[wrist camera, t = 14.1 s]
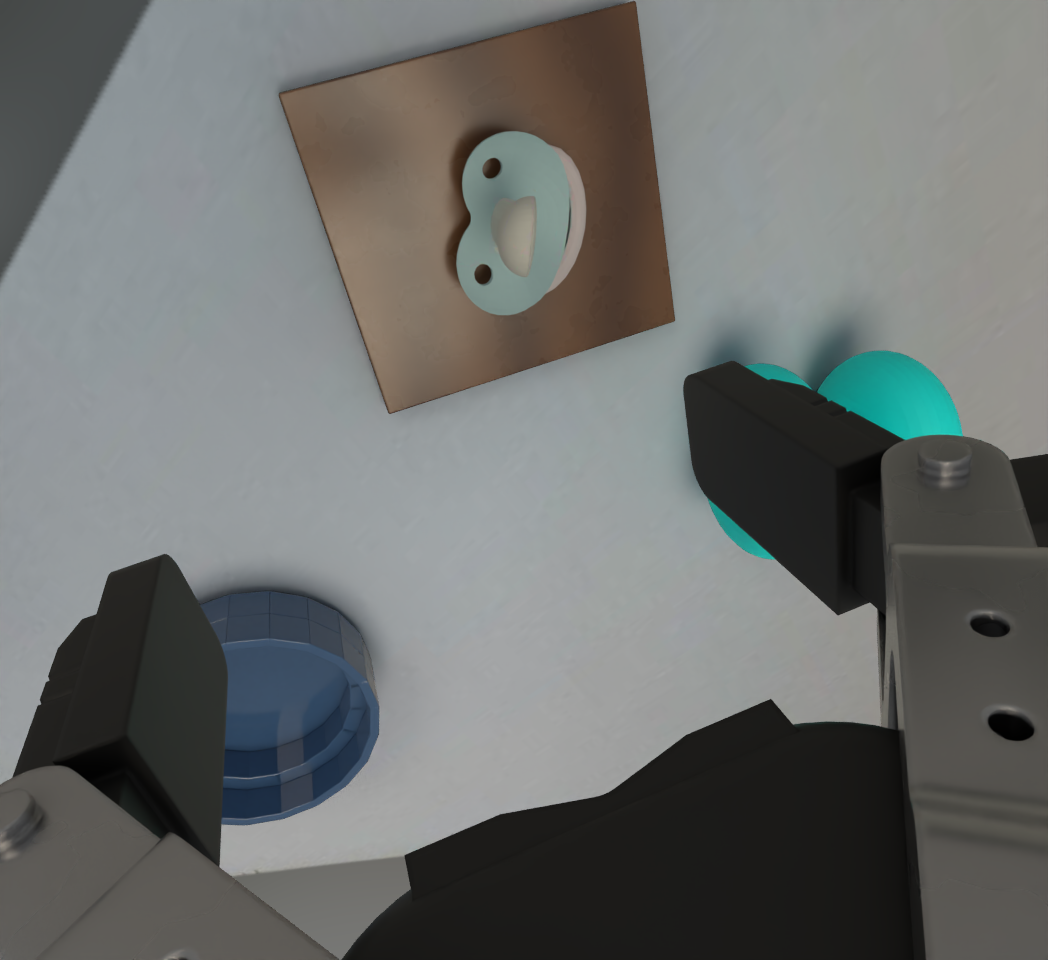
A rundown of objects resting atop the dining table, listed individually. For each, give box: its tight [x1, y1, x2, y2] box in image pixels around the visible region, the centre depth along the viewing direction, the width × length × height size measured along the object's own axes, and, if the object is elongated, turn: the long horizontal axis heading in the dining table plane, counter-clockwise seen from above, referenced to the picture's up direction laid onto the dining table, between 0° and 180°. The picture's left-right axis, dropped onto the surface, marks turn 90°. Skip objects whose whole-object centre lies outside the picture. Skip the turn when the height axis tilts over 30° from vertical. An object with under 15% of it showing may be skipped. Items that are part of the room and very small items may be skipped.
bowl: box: [200, 591, 379, 825], centre depth 40 cm, size 12×12×4 cm
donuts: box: [708, 351, 963, 559], centre depth 40 cm, size 10×10×10 cm
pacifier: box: [456, 131, 586, 315], centre depth 31 cm, size 7×6×6 cm
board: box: [279, 1, 675, 414], centre depth 34 cm, size 15×14×1 cm
